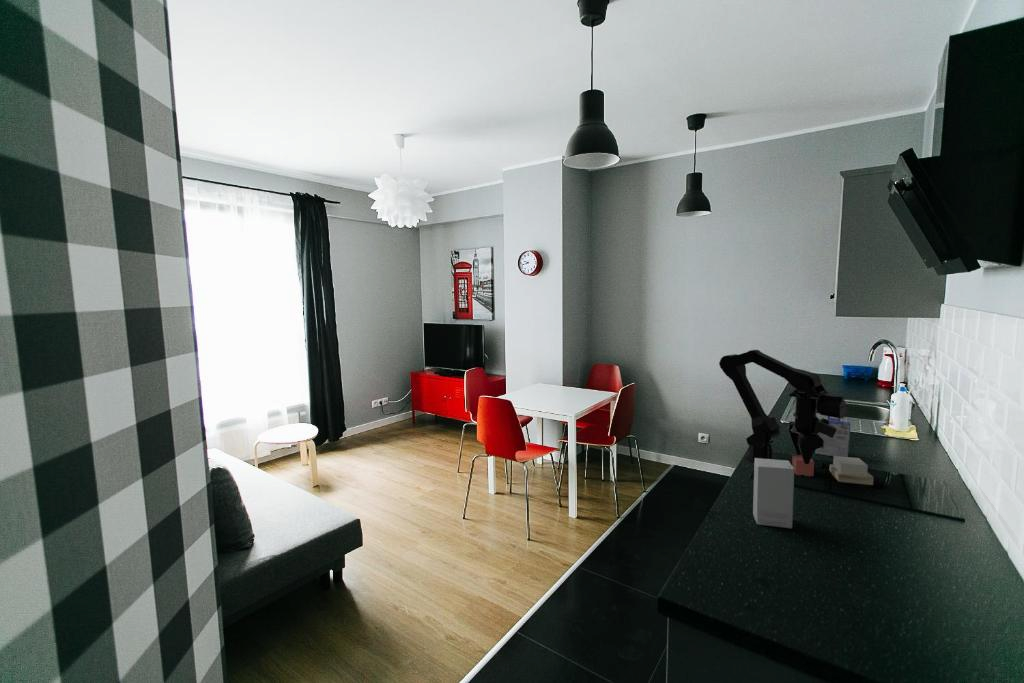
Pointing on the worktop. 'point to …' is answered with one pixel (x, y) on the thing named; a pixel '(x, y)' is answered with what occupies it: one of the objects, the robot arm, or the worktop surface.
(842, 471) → the tower top
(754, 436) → the robot arm
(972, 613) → the worktop surface
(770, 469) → the skincare box
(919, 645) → the worktop surface
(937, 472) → the worktop surface
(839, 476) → the tower base
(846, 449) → the ink cartridge box
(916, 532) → the worktop surface
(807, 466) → the red cube
